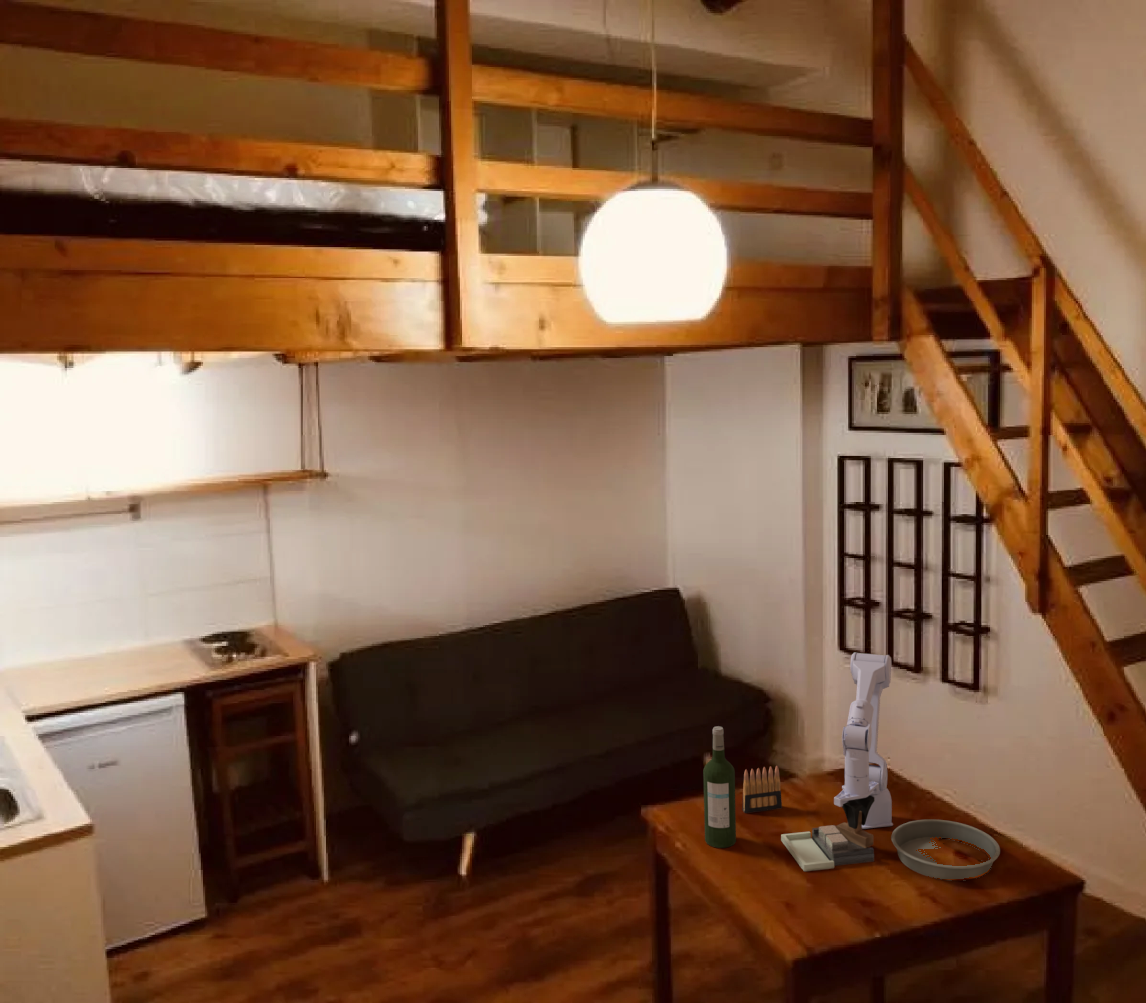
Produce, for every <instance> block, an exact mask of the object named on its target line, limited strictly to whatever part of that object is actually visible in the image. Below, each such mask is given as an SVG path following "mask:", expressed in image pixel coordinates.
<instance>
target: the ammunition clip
mask: <svg viewBox="0 0 1146 1003" xmlns="http://www.w3.org/2000/svg"><path fill="white" fill-rule="evenodd" d="M749 775H750V776H749ZM742 786H743V791H742V809H741V810H742V811H743V813H744V814H750V813H757V812H758V813H759V812H765V811H774V810H780V809H781V810H782V808H783V805H782V804H783V803H782V802H783V801H782V790H781V779H780V770H779V766H778V765H776V766H775V769H774V771H773V767H772V766H769V769H768V773H767V769H766V767H765V766H763V768H762V774H761V770H760V768H759V767H758V768H757V769H756V774H755V771H754V769H753V768H751V770H750V774H749V773H748V770H747V768H746V769H745V770H744V774H743V785H742Z"/></svg>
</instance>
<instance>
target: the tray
mask: <svg viewBox="0 0 1146 1003" xmlns="http://www.w3.org/2000/svg"><path fill="white" fill-rule="evenodd" d="M780 841H781V842H782V844H783V845H784V846H785V847H786V849H787V851H788V852H789V853H790V854H791V855H792V857H793V858H794V860H795V862H796V863H797V864H798V865H799V867H800V868H801V869H802V870H803V872H811V871H821V870H829V869H835V866H834V861H833V860H830V861H829V859H828V858H827V857H826V856H825V854H824V853H823V852H822V851H821V849H820V848H819V847H818V846H817V844H816V843H815V842H814V841H813V839H812V832H810V831H802V832H801V831H800V832H792V833H783V834H780Z"/></svg>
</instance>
